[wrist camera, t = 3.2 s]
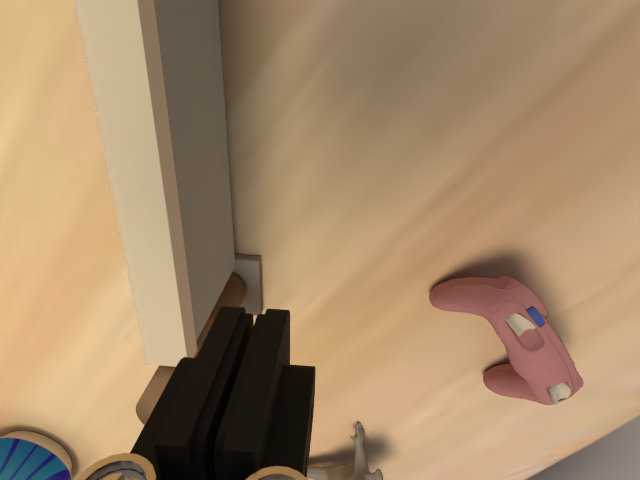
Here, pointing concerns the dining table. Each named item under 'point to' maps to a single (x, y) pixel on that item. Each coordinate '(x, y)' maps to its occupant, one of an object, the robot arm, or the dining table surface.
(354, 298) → the dining table surface
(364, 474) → the grey animal figurine
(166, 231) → the bar
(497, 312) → the video game controller
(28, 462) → the beer can
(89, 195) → the dining table surface
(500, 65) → the dining table surface
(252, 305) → the wooden pegs
